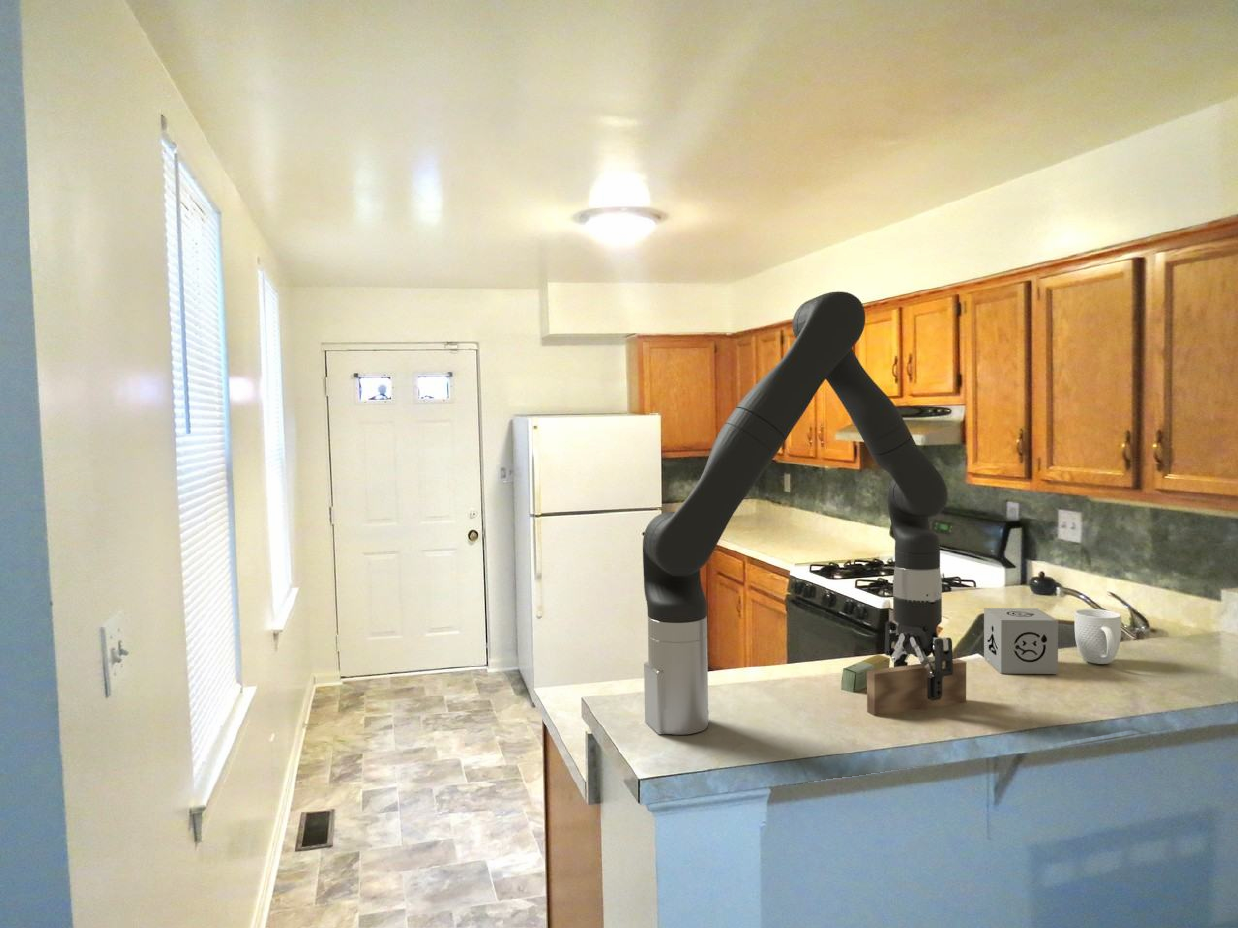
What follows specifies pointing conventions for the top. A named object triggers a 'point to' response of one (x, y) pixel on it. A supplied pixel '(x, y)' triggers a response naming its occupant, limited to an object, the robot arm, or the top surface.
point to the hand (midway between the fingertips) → (917, 691)
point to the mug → (1097, 634)
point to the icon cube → (1021, 640)
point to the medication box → (862, 672)
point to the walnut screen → (912, 688)
